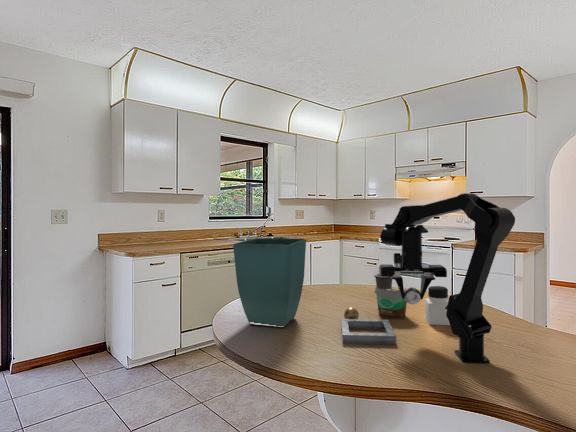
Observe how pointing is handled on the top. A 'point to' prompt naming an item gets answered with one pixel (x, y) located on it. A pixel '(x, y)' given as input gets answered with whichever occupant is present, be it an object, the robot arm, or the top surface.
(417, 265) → the robot arm
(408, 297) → the steel ball
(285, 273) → the flower pot
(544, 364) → the top surface
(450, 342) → the top surface
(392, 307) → the food container
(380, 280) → the coffee cup
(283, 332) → the top surface
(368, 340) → the grey square frame
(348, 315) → the bronze ball
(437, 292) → the medicine bottle
